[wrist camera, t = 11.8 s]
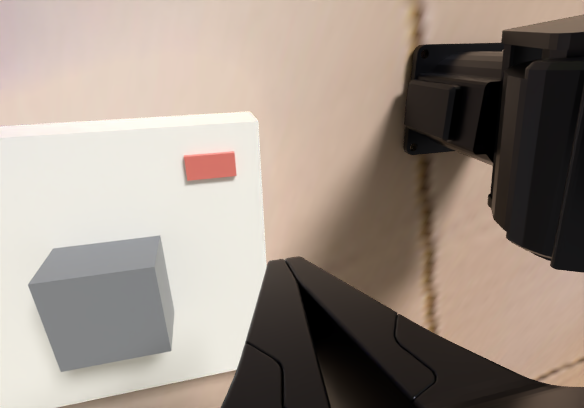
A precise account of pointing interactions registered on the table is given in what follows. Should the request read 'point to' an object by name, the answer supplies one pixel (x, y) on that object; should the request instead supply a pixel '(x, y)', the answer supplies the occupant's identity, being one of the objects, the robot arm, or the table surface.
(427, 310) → the table surface
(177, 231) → the socket plate
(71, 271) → the plug
